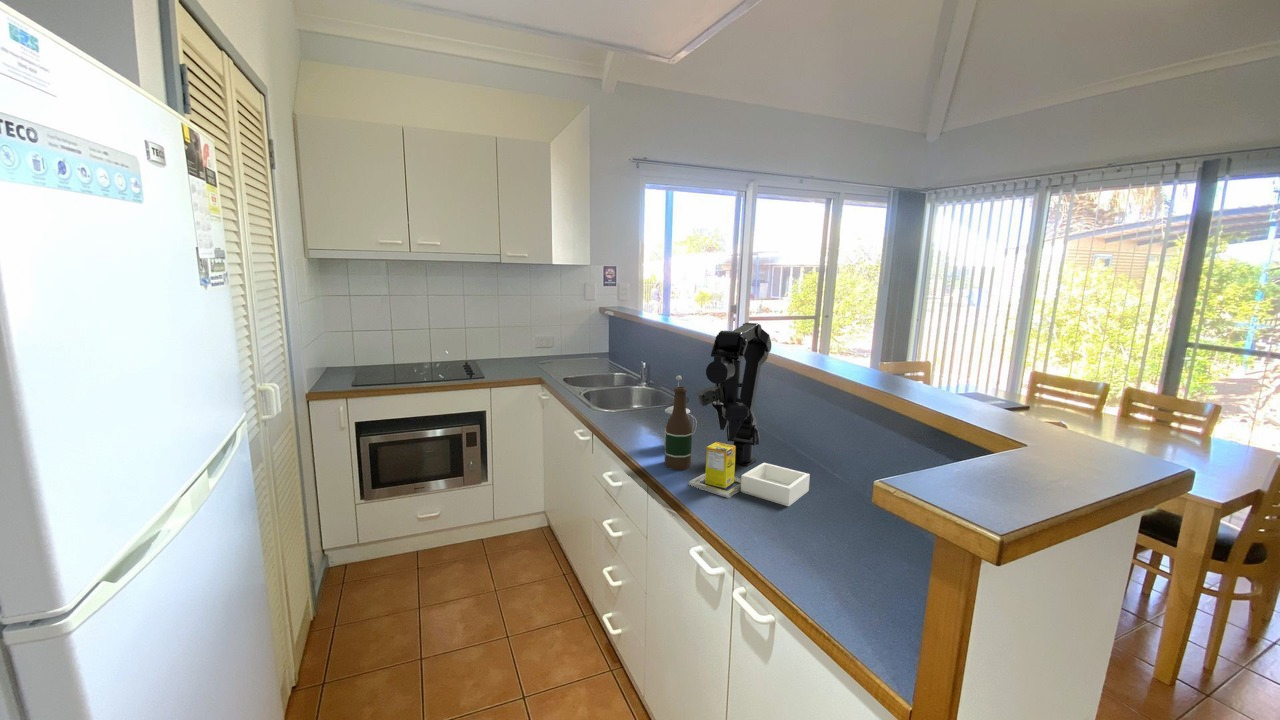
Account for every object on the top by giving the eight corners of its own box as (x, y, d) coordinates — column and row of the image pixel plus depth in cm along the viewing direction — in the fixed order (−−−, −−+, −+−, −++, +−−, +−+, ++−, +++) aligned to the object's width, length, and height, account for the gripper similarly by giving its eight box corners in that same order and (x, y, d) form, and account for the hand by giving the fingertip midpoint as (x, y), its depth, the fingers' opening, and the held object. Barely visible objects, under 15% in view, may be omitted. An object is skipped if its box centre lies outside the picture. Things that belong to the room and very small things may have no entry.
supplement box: (734, 484, 137) (736, 445, 135) (724, 491, 132) (726, 451, 131) (714, 479, 140) (716, 441, 139) (704, 486, 135) (706, 446, 134)
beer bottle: (672, 474, 143) (675, 391, 140) (659, 465, 150) (661, 385, 147) (695, 470, 147) (699, 389, 144) (681, 461, 154) (684, 384, 150)
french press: (655, 449, 165) (657, 373, 161) (687, 445, 170) (689, 372, 166) (669, 459, 156) (671, 379, 153) (702, 454, 161) (705, 377, 157)
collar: (712, 473, 145) (712, 469, 145) (750, 484, 137) (750, 480, 137) (688, 485, 136) (689, 481, 135) (728, 498, 128) (728, 493, 128)
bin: (763, 478, 142) (763, 462, 141) (808, 490, 134) (809, 474, 133) (740, 492, 132) (741, 475, 131) (788, 506, 124) (789, 488, 123)
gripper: (692, 371, 144) (690, 425, 147) (707, 384, 126) (705, 445, 128) (730, 372, 145) (728, 425, 148) (751, 384, 127) (748, 444, 129)
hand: (726, 434), depth 138 cm, fingers open, 9 cm apart
